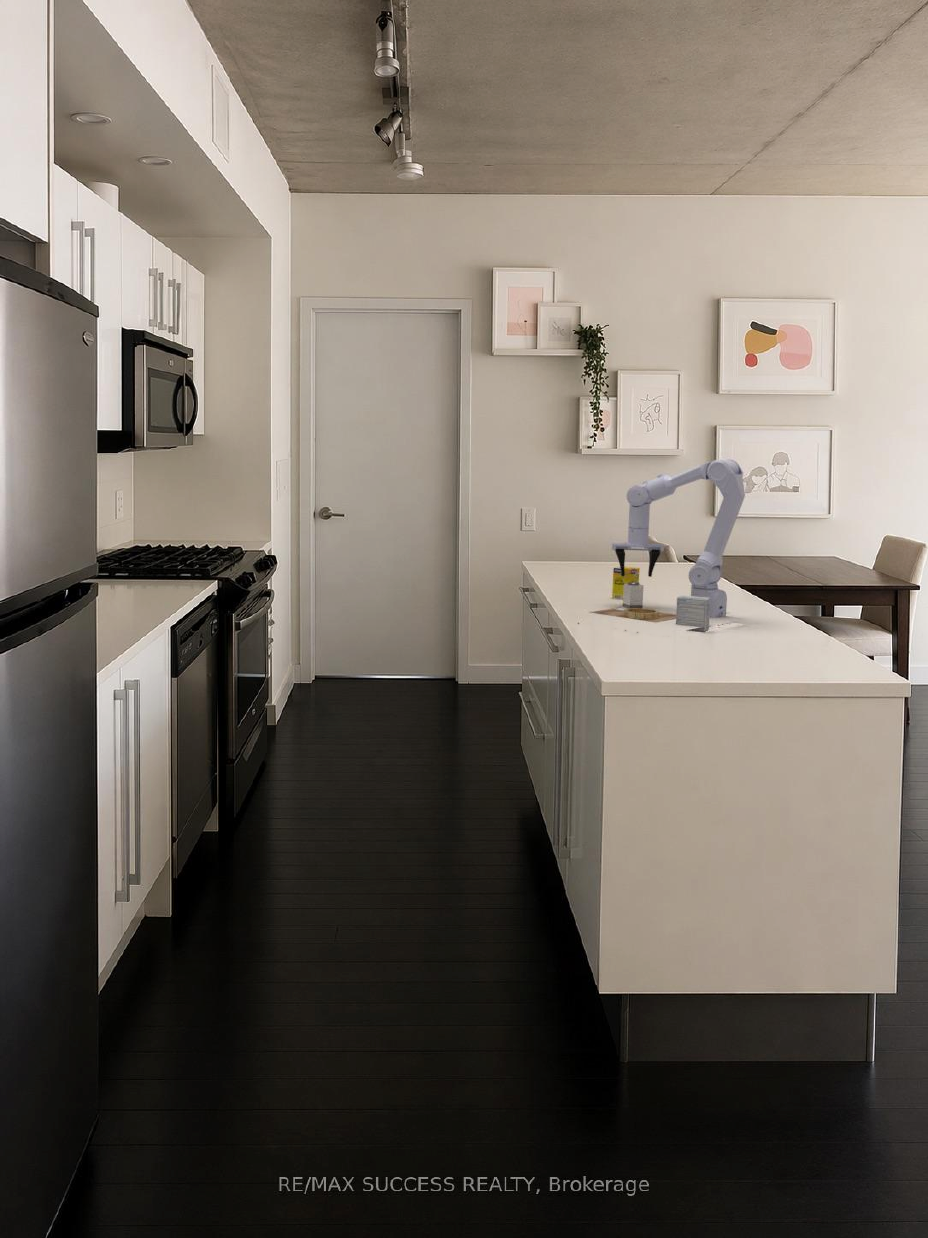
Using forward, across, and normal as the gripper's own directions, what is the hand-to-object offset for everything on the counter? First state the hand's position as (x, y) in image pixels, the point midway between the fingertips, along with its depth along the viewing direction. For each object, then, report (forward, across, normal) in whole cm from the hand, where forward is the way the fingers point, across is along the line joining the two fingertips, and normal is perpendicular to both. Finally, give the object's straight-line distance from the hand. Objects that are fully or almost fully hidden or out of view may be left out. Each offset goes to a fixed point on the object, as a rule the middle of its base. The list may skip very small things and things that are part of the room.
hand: (636, 575), depth 323 cm
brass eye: (+9, 0, -18) cm, 20 cm away
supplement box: (+11, -1, +17) cm, 20 cm away
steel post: (+8, -2, -8) cm, 12 cm away
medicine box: (+11, +12, -29) cm, 33 cm away
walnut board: (+10, 0, -14) cm, 18 cm away
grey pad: (+9, -2, -8) cm, 12 cm away
